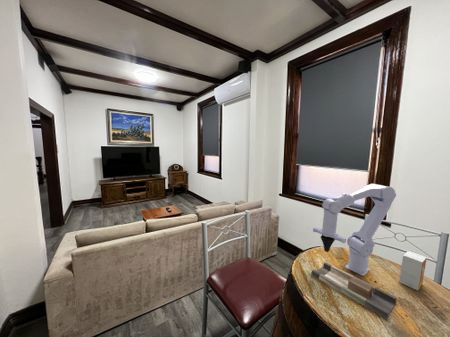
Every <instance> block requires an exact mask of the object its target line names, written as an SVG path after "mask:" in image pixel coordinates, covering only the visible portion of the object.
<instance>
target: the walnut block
mask: <svg viewBox="0 0 450 337" xmlns="http://www.w3.org/2000/svg"><path fill="white" fill-rule="evenodd" d="M355 277H356V276H355ZM355 277H352V278H351V279H350V280H349V281H348V289H350V290H351V291H353V292H355V293H357V294H359V295H360V296H362V297H364V298H366V299H368V300H369V299H370V297H371V296H372V292H373V286H374V285H373V286H372V284H371V285H370V283H369V284H368V282H367V283H365V282H366V281H365V282H363V281H364V280H363V281H361V280H362V279H361V280H359V279H360V278H359V279H357V278H358V277H357V278H355Z"/></svg>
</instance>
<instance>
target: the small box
mask: <svg viewBox="0 0 450 337" xmlns="http://www.w3.org/2000/svg"><path fill="white" fill-rule="evenodd" d="M401 261H402V262H401V268H400V274H399V280H398V282H399V283H401V284H402V285H405V286H407V287H409V288H412V289H413V290H416V291H419V290H420V288H422V285H423V281H424V276H425V270H426V265H427V264H426V263H427V257H426V256H423V255H420V254H417V253H415V252H412V251H410V250H408V251H407V252H405V253H404V254H403V256H402V260H401Z"/></svg>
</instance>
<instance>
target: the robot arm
mask: <svg viewBox="0 0 450 337" xmlns="http://www.w3.org/2000/svg"><path fill="white" fill-rule="evenodd" d="M368 197H370V199H371V200H372V202H373V203H374V206H373V208H372V209H371V210H370V212H369V214H368V216H367V217H366V219H365V220H364V223H363V224H362V226H361V227H360V229H359V230H358V231H354V232H353V233H352V234H351V235H350V236H349V237H348V238H347V237H343V236H341V235H339V233H336V231H337V222H338V215H339V214H340V212H342V210H343V209H344V208H348V207H349V206H352V205H354V204H355V202H356V201H359V200H362V199H365V198H368ZM396 197H397V193H396V191H395V189H394V187H392V186H387V185H386V186H385V185H382V184H377V183H370V184H368V185H366V186H365V187H362V188H361V189H359V190H356V191H354V192H353V193H351V194H349V193H345V192H343V193H341V195H339V196H335V197H332V198H327V199H325V200H324V201H323V202H322V203H321V206H322V208H323V218H322V219H323V220H322V227H321V228H320V227H319V228H318V227H316V226H314V227H313V228H312V232H313V233H317V234H320V239H321V242H322V244H323V250H324V252H326V253H328V252H330V251H331V250H330V249H331V248H332V245H333V243H335V241H338V242H341V244H347V245H348V246H349V247H348V248H349V255H348V264H346V265H345V266H344V268H345V269H348V270H350V271H353V272H354V273H356V274H358V275H360V276H365V275H366V274H367V273H369V271H370V270H371V269H370V268H368V266H369V265H368V264H369V258H370V256H371V255H372V253H373V252H374V247H375V245H376V243H375V241H374V240H373V237H374V235H375V234H376V232H377V230H378V228H379V227H380V225H381V224H382V222H383V220H384V219H385V216H386V215H387V213H388V212H389V210H390V209H391V206H392V204H393V202H394V201H395V198H396Z"/></svg>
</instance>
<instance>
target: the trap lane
mask: <svg viewBox="0 0 450 337" xmlns="http://www.w3.org/2000/svg"><path fill="white" fill-rule="evenodd" d="M311 276H312V277H314V278H315V279H318V280H319V281H321V282H323V283H325V284H326V285H327V286H330V287H332V289H335V291H336V290H337V291H338V292H340V293H341V294H344V295H345V296H347V297H348V298H350V299H352V300H354V301H355V302H357V303H359V304H360V305H362V306H364V307H365V308H366V309H367V308H368V309H369V310H370V311H372V312H374V313H376V314H377V315H379V316H381V317H383V318H384V319H386V320H388V318H389V316H390V315H391V313H392V311H393V309H394V307H395V306H396V304H397V299H398V298H397V296H395V295H393V294H391V293H389V292H387V291H384V290H383V289H382V288H378V287H377V286H375V285H372V284H370V283H368V282H366V281H365V280H363V279H360V278H359V277H357V276H355V275H352V274H351V273H348V272H346V271H344V270H342V269H341V268H338V267H336V266H334V265H332V264H330V263H328V262H327V261H324V262H323V266H322V267H320V268H318V269H317V270H315V269H312V270H311ZM352 277H355V278H357V279H359V280H361V281H363V282H365V283H368V284H370V285H372V286H373V292H372V296H371V297H370V299H369V300H368V299H366V298H364V297H362V296H360V295H359V294H357V293H355V292H353V291H351V290H350V289H348V281H349V280H350V279H351V278H352Z"/></svg>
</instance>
